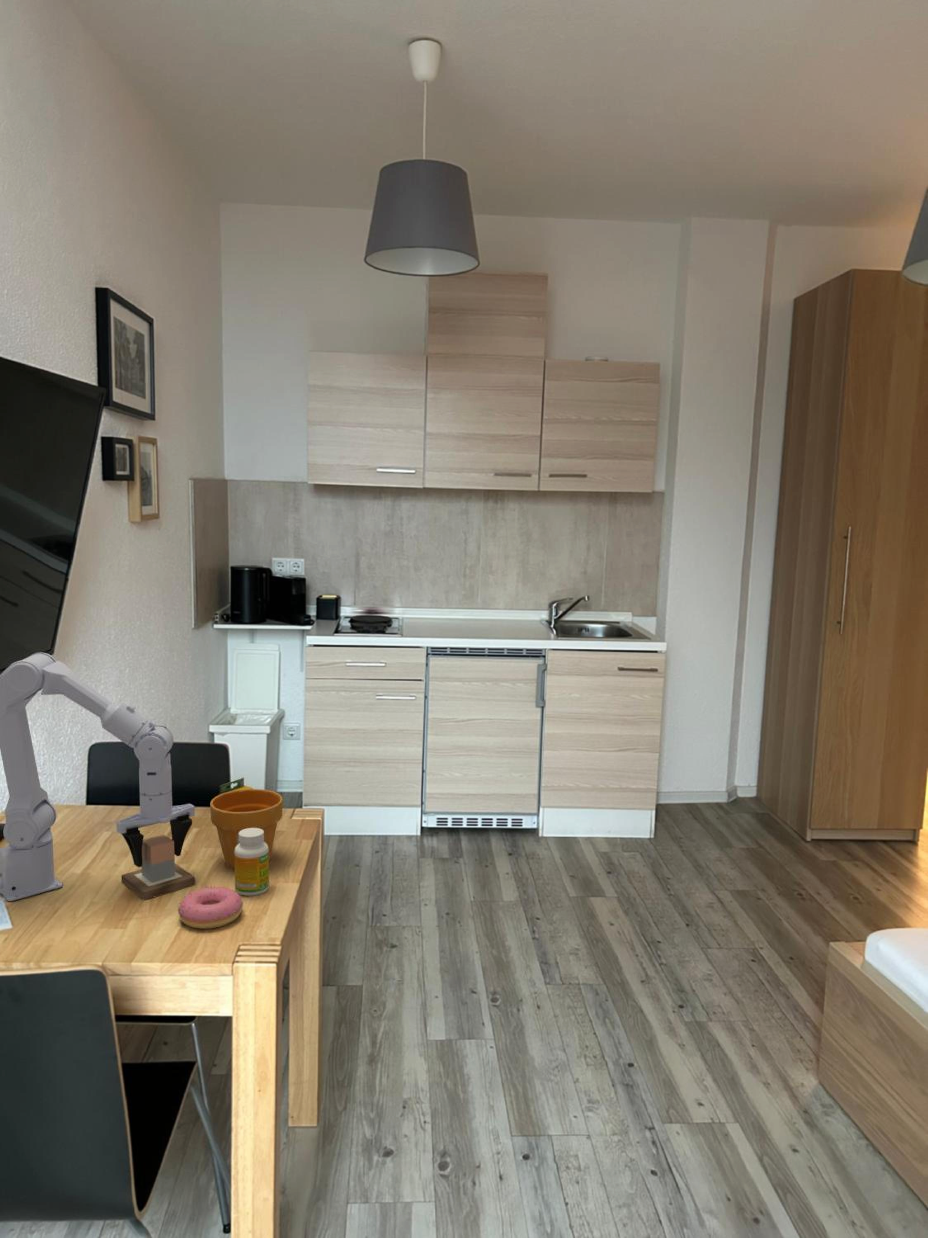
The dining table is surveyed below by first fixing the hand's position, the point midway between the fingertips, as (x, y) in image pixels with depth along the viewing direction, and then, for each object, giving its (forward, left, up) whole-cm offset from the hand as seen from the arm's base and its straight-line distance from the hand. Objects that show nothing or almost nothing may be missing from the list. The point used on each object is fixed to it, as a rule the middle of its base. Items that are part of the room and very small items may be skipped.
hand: (157, 860), depth 164 cm
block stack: (0, 0, -3) cm, 3 cm away
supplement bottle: (+12, -14, -5) cm, 19 cm away
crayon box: (+24, +13, -5) cm, 28 cm away
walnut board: (0, 0, -5) cm, 5 cm away
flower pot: (+18, -2, -5) cm, 19 cm away
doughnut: (+1, -19, -5) cm, 20 cm away
